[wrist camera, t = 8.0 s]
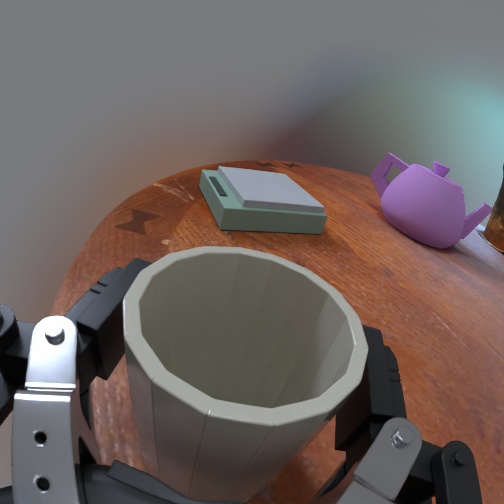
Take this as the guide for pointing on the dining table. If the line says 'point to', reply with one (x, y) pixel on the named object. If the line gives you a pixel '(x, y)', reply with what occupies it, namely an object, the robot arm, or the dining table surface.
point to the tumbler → (235, 367)
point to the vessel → (496, 223)
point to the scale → (260, 202)
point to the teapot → (425, 203)
